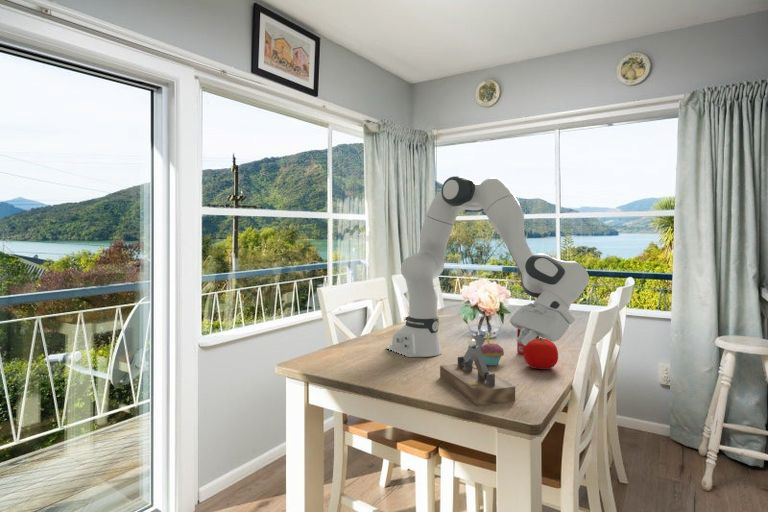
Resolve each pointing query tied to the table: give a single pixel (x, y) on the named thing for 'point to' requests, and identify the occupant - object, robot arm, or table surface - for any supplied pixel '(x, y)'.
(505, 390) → the switch box
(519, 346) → the canned food
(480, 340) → the grey knob lever
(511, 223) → the robot arm
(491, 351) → the cupcake
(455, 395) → the table surface
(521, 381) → the table surface
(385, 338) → the table surface
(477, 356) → the cream knob lever
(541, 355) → the tomato
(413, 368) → the table surface
